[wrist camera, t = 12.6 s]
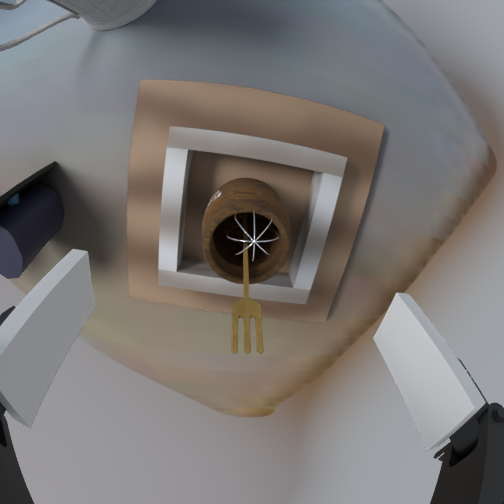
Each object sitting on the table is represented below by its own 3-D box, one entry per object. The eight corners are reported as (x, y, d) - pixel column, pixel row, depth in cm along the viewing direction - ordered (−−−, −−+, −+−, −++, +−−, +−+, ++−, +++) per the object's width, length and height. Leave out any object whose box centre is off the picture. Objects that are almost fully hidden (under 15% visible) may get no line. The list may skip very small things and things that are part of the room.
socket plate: (145, 81, 18) (129, 74, 14) (378, 124, 20) (399, 125, 17) (133, 290, 26) (121, 311, 23) (321, 315, 28) (330, 338, 25)
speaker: (19, 172, 20) (-45, 212, 11) (56, 160, 20) (-13, 200, 11) (36, 235, 23) (-14, 290, 15) (73, 230, 24) (22, 291, 15)
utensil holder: (284, 176, 21) (331, 230, 10) (278, 249, 23) (308, 352, 13) (207, 174, 20) (170, 227, 10) (209, 248, 23) (186, 352, 12)
